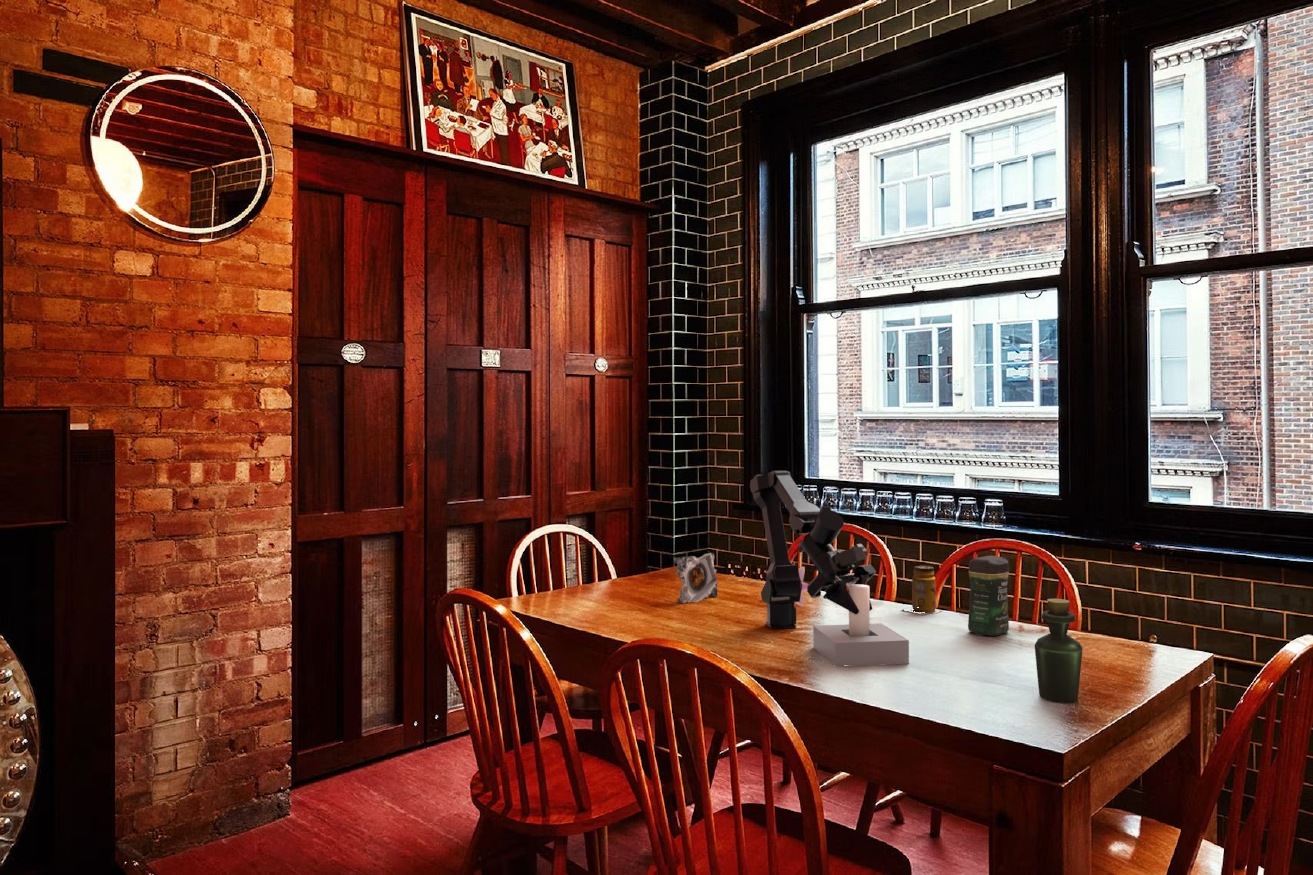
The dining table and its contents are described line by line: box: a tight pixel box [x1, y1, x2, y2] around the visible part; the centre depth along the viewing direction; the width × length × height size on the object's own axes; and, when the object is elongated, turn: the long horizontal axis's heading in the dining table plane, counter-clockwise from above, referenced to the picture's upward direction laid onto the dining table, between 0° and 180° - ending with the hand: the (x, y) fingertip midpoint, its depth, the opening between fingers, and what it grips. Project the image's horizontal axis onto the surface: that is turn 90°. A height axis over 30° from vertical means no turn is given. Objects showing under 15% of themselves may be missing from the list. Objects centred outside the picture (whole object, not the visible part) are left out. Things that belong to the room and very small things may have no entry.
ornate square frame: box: [673, 552, 718, 604], centre depth 256 cm, size 15×4×13 cm, turn 138°
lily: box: [795, 566, 809, 607], centre depth 252 cm, size 12×12×10 cm
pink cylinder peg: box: [848, 584, 870, 637], centre depth 193 cm, size 4×4×12 cm
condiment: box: [902, 565, 942, 616], centre depth 238 cm, size 7×8×12 cm
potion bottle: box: [1034, 598, 1084, 704], centre depth 162 cm, size 8×8×18 cm
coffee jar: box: [967, 555, 1010, 637], centre depth 213 cm, size 10×8×19 cm
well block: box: [812, 622, 910, 667], centre depth 193 cm, size 16×16×5 cm
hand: (864, 611), depth 192 cm, fingers closed on pink cylinder peg, 4 cm apart
